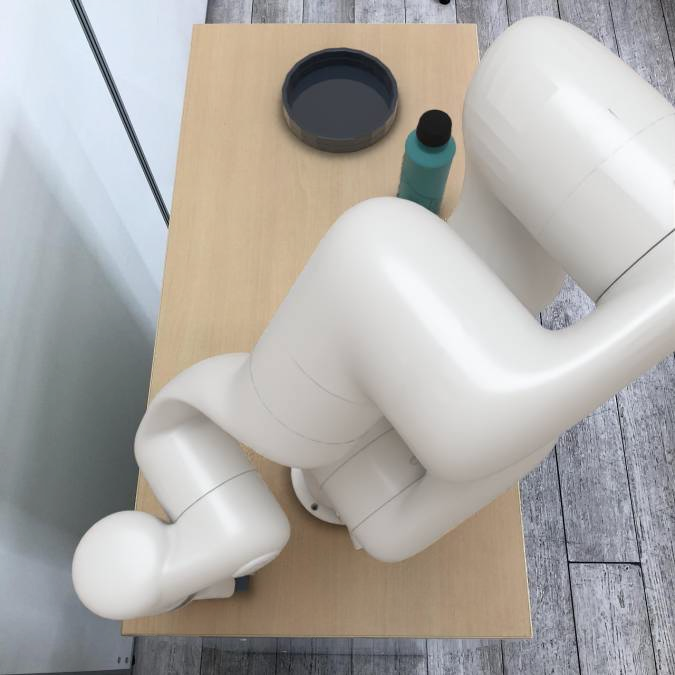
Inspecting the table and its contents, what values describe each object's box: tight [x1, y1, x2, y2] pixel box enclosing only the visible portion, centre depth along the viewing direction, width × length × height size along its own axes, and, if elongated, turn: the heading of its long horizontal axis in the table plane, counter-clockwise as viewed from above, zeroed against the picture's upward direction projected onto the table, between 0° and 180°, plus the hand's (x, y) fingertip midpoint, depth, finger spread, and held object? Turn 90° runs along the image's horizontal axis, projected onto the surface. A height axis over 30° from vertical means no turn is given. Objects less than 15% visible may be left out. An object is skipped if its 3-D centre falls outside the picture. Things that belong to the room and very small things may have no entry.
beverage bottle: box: [395, 108, 457, 216], centre depth 82 cm, size 6×7×20 cm
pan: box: [281, 46, 399, 154], centre depth 96 cm, size 17×17×4 cm
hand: (201, 570), depth 72 cm, fingers closed on block, 4 cm apart
